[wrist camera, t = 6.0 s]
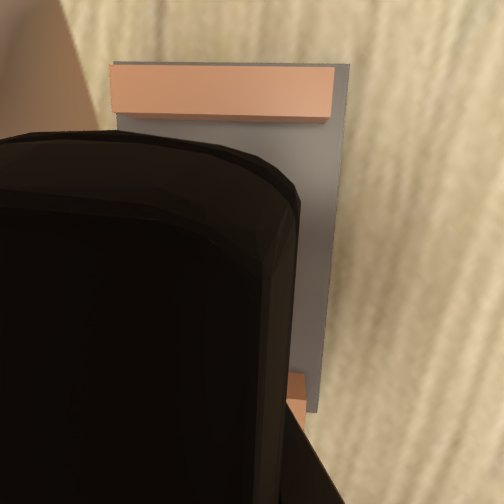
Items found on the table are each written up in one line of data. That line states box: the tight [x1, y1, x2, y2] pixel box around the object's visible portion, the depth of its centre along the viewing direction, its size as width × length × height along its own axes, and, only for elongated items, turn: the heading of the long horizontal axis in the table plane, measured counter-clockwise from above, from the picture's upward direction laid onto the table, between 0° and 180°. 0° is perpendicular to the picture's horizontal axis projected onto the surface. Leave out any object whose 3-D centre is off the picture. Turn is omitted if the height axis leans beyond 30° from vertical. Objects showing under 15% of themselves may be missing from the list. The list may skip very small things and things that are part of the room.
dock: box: [109, 62, 350, 431], centre depth 19 cm, size 20×12×4 cm, turn 178°
